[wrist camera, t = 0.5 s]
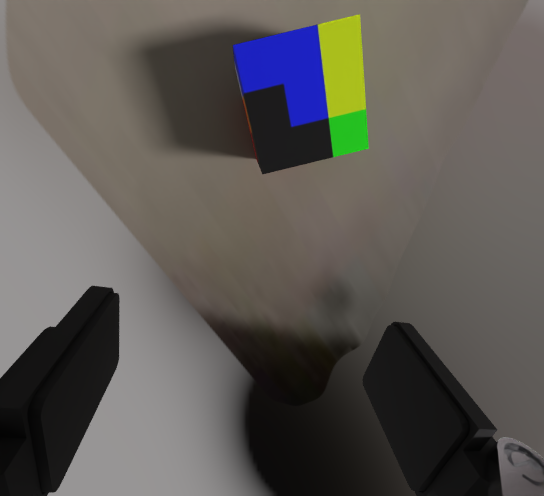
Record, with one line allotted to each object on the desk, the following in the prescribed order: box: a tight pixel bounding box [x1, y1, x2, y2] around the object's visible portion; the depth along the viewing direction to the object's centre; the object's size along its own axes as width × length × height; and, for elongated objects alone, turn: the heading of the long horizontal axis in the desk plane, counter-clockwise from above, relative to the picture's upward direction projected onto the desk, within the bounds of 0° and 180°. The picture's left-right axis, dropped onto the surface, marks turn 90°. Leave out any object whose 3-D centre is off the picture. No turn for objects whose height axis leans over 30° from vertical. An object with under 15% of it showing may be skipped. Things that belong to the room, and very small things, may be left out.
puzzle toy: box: [233, 14, 369, 174], centre depth 29 cm, size 10×10×10 cm
